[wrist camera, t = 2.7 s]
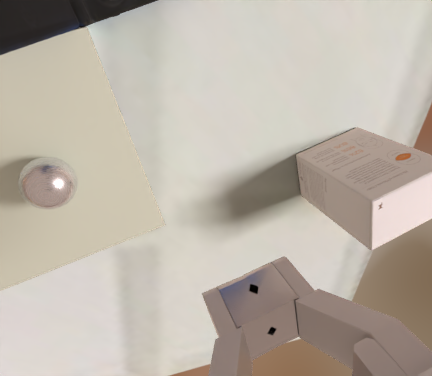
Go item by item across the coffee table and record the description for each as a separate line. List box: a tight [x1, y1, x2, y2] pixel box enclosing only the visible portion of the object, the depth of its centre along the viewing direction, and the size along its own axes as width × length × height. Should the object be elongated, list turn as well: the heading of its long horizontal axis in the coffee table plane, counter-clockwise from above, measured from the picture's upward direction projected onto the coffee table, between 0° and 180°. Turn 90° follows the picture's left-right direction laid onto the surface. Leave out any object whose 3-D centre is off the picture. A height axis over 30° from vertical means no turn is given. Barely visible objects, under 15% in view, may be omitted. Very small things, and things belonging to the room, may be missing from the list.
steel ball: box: [18, 157, 78, 210], centre depth 20 cm, size 4×4×4 cm
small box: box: [296, 127, 432, 250], centre depth 29 cm, size 8×6×10 cm
